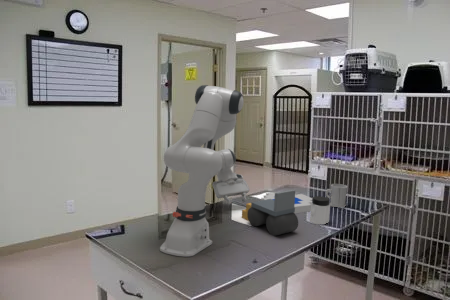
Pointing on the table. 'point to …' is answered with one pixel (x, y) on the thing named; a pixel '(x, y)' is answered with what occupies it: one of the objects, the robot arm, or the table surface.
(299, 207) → the stepped white slab
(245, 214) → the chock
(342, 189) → the cup
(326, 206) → the jar
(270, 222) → the trolley
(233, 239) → the table surface
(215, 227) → the table surface
